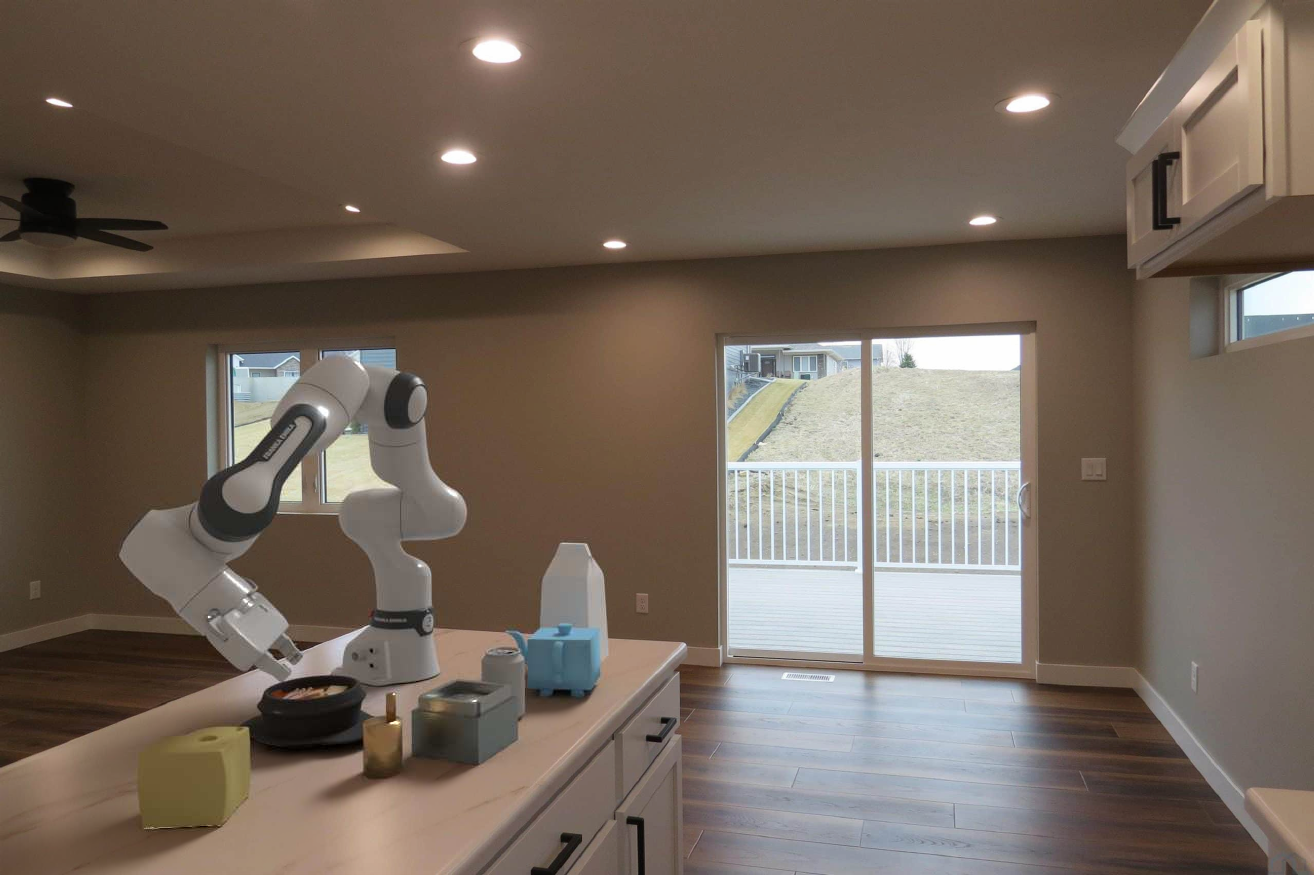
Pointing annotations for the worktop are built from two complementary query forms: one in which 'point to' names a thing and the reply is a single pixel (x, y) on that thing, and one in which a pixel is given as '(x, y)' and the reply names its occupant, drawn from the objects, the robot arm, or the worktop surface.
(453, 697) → the grey square box
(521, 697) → the can
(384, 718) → the spout can
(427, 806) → the worktop surface
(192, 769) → the cheese
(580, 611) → the milk
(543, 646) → the teapot
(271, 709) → the casserole
